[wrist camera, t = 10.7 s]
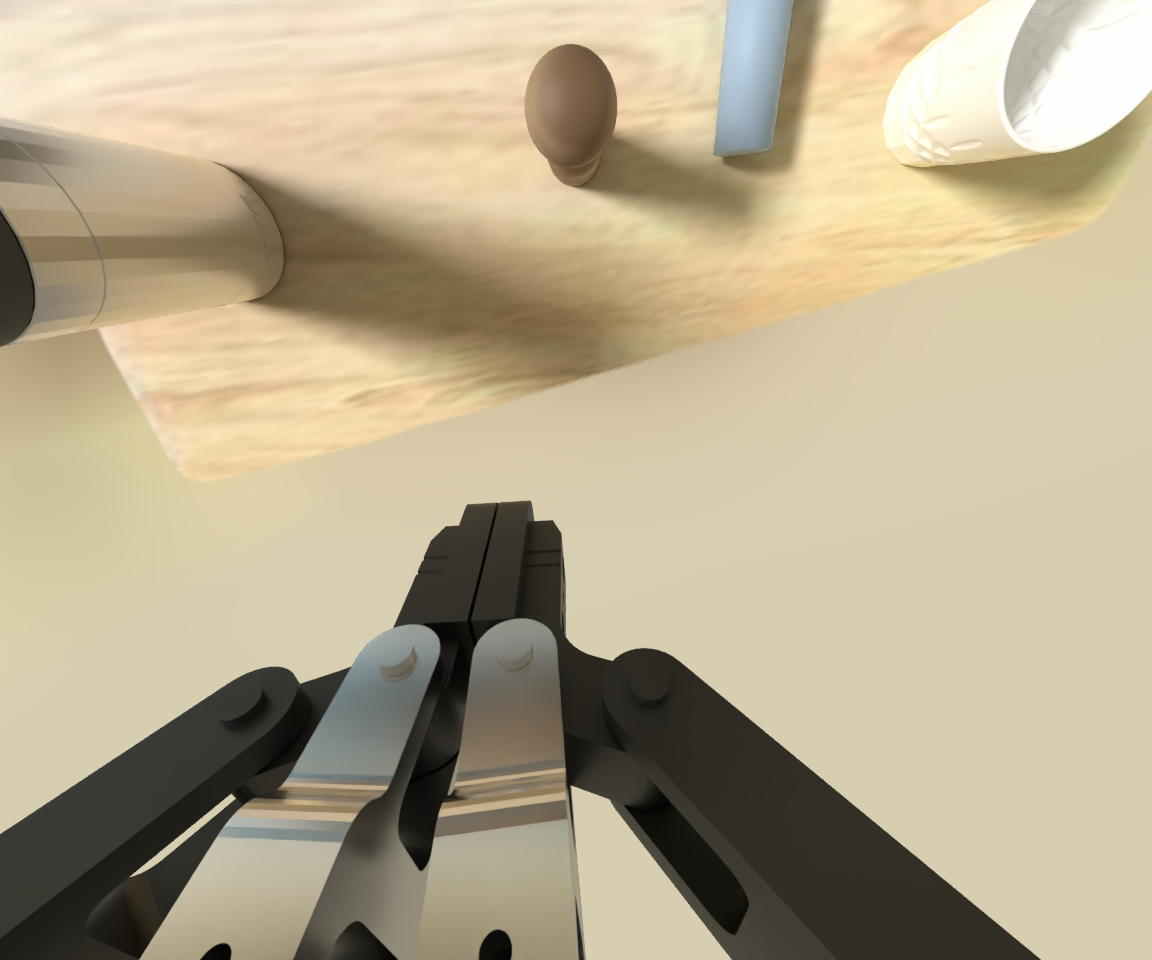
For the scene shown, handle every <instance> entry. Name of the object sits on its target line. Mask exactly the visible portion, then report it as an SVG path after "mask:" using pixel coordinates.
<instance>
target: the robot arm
mask: <svg viewBox="0 0 1152 960" xmlns="http://www.w3.org/2000/svg"><path fill="white" fill-rule="evenodd" d="M283 264H284V251H283V243H282V239H281V235H280V232H279V229H278V227H277V224H276V222H275V220H274V218H273V216H272V214H271V212H270V211H269V209H268V208H267V206H266V205H265V203H264V201H263V200H262V199H261V198H260V197H259V195H258V194H257V193H256V192H255V191H254V190H253V188H252V187H251V186H249V185H248V184H247V183H246V182H245V181H244V180H242V179H241V178H240V177H239V176H238V175H236V174H235V173H233V172H231V171H230V170H228V169H226V168H225V167H223V166H221V165H218V164H215V163H213V162H210V161H207V160H202V159H198V158H193V157H188V156H183V155H178V154H174V153H169V152H164V151H160V150H156V149H152V148H147V147H142V146H137V145H133V144H128V143H123V142H118V141H113V140H109V139H104V138H99V137H94V136H90V135H85V134H80V133H75V132H71V131H66V130H61V129H56V128H52V127H47V126H42V125H37V124H32V123H28V122H23V121H18V120H13V119H9V118H4V117H0V347H1V346H6V345H10V344H16V343H21V342H27V341H32V340H38V339H43V338H48V337H54V336H59V335H64V334H69V333H74V332H79V331H85V330H90V329H96V328H101V327H106V326H112V325H117V324H123V323H128V322H134V321H139V320H145V319H150V318H156V317H161V316H166V315H172V314H177V313H183V312H188V311H194V310H199V309H205V308H210V307H217V306H222V305H228V304H233V303H238V302H244V301H249V300H254V299H257V298H260V297H263V296H264V295H266V294H267V293H269V292H270V291H272V289H273V288H274V287H275V286H276V284H277V283H278V282H279V279H280V276H281V274H282V271H283ZM565 582H566V581H565V569H564V558H563V548H562V536H561V532H560V531H559V529H558V528H557V526H556V525H555V523H554V522H553V520H550V521H534V516H533V509H532V503H531V501H517V502H500V504H499V503H483V504H468V505H467V506H466V508H465V511H464V514H463V516H462V519H461V522H460V525H459V526H446V527H445V528H444V529H443V530H442V531H441V532H440V533H439V534H438V535H437V536H436V537H435V538H434V539H432V540H431V542H430V544H429V547H428V549H427V552H426V554H425V556H424V561H422V563H421V565H420V567H419V570H418V575H416V577H415V579H414V581H413V584H412V586H411V588H410V591H409V593H408V595H407V597H406V600H405V602H404V605H403V607H402V609H401V611H400V614H399V616H398V619H397V621H396V623H395V625H394V628H392V629H390V630H388V631H386V632H384V633H382V634H380V635H379V636H377V637H376V638H374V639H373V640H372V641H371V642H369V643H368V644H367V645H366V646H365V647H364V649H363V650H362V651H361V652H360V654H359V655H358V657H357V658H356V660H355V662H354V663H353V665H352V666H351V667H349V668H346V669H344V670H341V671H338V672H335V673H332V674H329V675H326V676H323V677H320V678H317V679H314V680H311V681H307V682H304V683H302V684H300V683H299V682H298V680H297V678H296V677H295V675H294V674H293V673H292V672H291V671H290V670H288V669H286V668H282V667H267V668H262V669H258V670H254V671H252V672H249V673H247V674H245V675H243V676H241V677H239V678H237V679H235V680H233V681H232V682H230V683H228V684H227V685H225V686H224V687H222V688H221V689H219V690H218V691H216V692H215V693H213V694H212V695H210V696H209V697H207V698H206V699H204V700H203V701H201V702H200V703H198V704H197V705H195V706H194V707H192V708H191V709H189V710H187V711H186V712H185V713H183V714H182V715H180V716H179V717H177V718H175V719H174V720H172V721H171V722H169V723H168V724H166V725H165V726H163V727H162V728H160V729H159V730H157V731H156V732H154V733H153V734H151V735H150V736H148V737H147V738H145V739H144V740H142V741H141V742H139V743H138V744H136V745H135V746H133V747H132V748H130V749H128V750H127V751H126V752H124V753H122V754H121V755H119V756H118V757H116V758H115V759H113V760H112V761H110V762H109V763H107V764H106V765H104V766H103V767H102V768H100V769H98V770H97V771H95V772H94V773H92V774H91V775H89V776H88V777H86V778H85V779H83V780H82V781H80V782H79V783H77V784H76V785H74V786H72V787H71V788H69V789H68V790H67V791H65V792H64V793H62V794H60V795H59V796H57V797H56V798H54V799H53V800H51V801H50V802H48V803H47V804H45V805H44V806H42V807H41V808H39V809H38V810H36V811H35V812H33V813H32V814H30V815H29V816H27V817H26V818H24V819H23V820H21V821H20V822H18V823H17V824H15V825H14V826H12V827H11V828H9V829H7V830H6V831H4V832H3V833H1V834H0V960H586V957H585V946H584V932H583V921H582V909H581V896H580V885H579V875H578V865H577V853H576V839H575V827H574V814H573V801H572V788H571V785H572V786H574V787H577V788H580V789H583V790H585V791H588V792H591V793H594V794H597V795H599V796H602V797H605V798H608V799H610V801H611V803H612V804H613V806H614V808H615V809H616V810H617V812H618V813H619V814H620V816H621V817H622V818H623V820H624V821H625V822H626V823H627V824H628V826H629V827H630V829H631V830H632V831H633V832H634V834H635V835H636V836H637V838H638V839H639V840H640V842H641V843H642V844H643V845H644V847H645V848H646V849H647V851H648V852H649V853H650V854H651V856H652V857H653V858H654V859H655V861H656V862H657V863H658V865H659V866H660V867H661V869H662V870H663V871H664V872H665V874H666V875H667V876H668V877H669V879H670V880H671V881H672V883H673V884H674V885H675V887H676V888H677V889H678V891H679V892H680V893H681V895H682V896H683V897H684V898H685V900H686V901H687V902H688V904H689V905H690V906H691V907H692V909H693V910H694V911H695V913H696V914H697V915H698V916H699V918H700V919H701V920H702V922H703V923H704V924H705V926H706V927H707V928H708V929H709V931H710V932H711V933H712V935H713V936H714V937H715V939H716V940H717V941H718V942H719V944H720V945H721V946H722V948H723V949H724V950H725V951H726V953H727V954H728V955H729V956H730V958H731V959H732V960H1040V959H1039V958H1038V957H1037V956H1036V955H1035V954H1033V953H1032V952H1031V951H1030V950H1029V949H1027V948H1026V947H1025V946H1024V945H1022V944H1021V943H1020V942H1019V941H1018V940H1016V939H1015V938H1014V937H1013V936H1011V935H1010V934H1009V933H1008V932H1007V931H1006V930H1004V929H1003V928H1002V927H1001V926H999V925H998V924H997V923H996V922H995V921H993V920H992V919H991V918H990V917H988V916H987V915H986V914H985V913H984V912H982V911H981V910H980V909H979V908H978V907H976V906H975V905H974V904H973V903H972V902H970V901H969V900H968V899H967V898H966V897H964V896H963V895H962V894H961V893H960V892H958V891H957V890H956V889H955V888H953V887H952V886H951V885H950V884H949V883H947V882H946V881H945V880H944V879H942V878H941V877H940V876H939V875H938V874H936V873H935V872H934V871H933V870H932V869H930V868H929V867H928V866H927V865H926V864H924V863H923V862H922V861H921V860H920V859H918V858H917V857H916V856H915V855H913V854H912V853H911V852H910V851H909V850H907V849H906V848H905V847H904V846H903V845H901V844H900V843H899V842H898V841H897V840H895V839H894V838H893V837H891V836H890V835H889V834H888V833H887V832H886V831H884V830H883V829H882V828H881V827H880V826H878V825H877V824H876V823H875V822H873V821H872V820H871V819H870V818H869V817H867V816H866V815H865V814H864V813H862V812H861V811H860V810H859V809H858V808H856V807H855V806H854V805H853V804H852V803H850V802H849V801H848V800H847V799H846V798H844V797H843V796H842V795H841V794H840V793H838V792H837V791H836V790H835V789H834V788H832V787H831V786H830V785H828V784H827V783H826V782H825V781H824V780H823V779H821V778H820V777H819V776H818V775H816V774H815V773H814V772H813V771H812V770H810V769H809V768H808V767H807V766H806V765H804V764H803V763H802V762H801V761H800V760H798V759H797V758H796V757H795V756H794V755H792V754H791V753H790V752H789V751H787V750H786V749H785V748H784V747H783V746H781V745H780V744H779V743H778V742H777V741H775V740H774V739H773V738H772V737H770V736H769V735H768V734H767V733H765V732H764V731H763V730H762V729H761V728H760V727H758V726H757V725H756V724H755V723H754V722H752V721H751V720H750V719H749V718H747V717H746V716H745V715H744V714H743V713H741V712H740V711H739V710H738V709H737V708H735V707H734V706H733V705H732V704H731V703H729V702H728V701H727V700H726V699H724V698H723V697H722V696H721V695H720V694H718V693H717V692H716V691H715V690H714V689H712V688H711V687H710V686H709V685H707V684H706V683H705V682H704V681H703V680H701V679H700V678H699V677H698V676H697V675H695V674H694V673H693V672H692V671H691V670H689V669H688V668H687V667H685V666H684V665H683V664H682V663H681V662H680V661H678V660H677V659H675V658H674V657H673V656H671V655H669V654H667V653H665V652H662V651H659V650H655V649H647V648H640V649H634V650H630V651H627V652H625V653H623V654H621V655H620V656H618V657H616V658H615V659H614V660H613V661H610V660H606V659H603V658H599V657H595V656H592V655H589V654H586V653H584V652H582V651H580V650H578V649H577V648H576V647H574V646H573V645H572V644H571V643H570V642H569V641H568V639H567V638H566V614H565V613H566V602H565V598H566V587H565V586H566V583H565ZM230 794H232V795H233V796H234V797H235V798H236V799H235V800H234V801H233V802H231V803H230V804H229V805H228V806H227V807H225V808H224V809H223V810H222V811H221V812H219V813H218V814H217V815H216V816H215V817H213V818H212V819H211V820H210V821H209V822H207V823H206V824H205V825H204V826H203V827H201V828H200V829H199V830H198V831H197V832H195V833H194V834H193V835H192V836H191V837H189V838H188V839H187V840H186V841H185V842H183V843H182V844H181V845H180V846H178V847H177V848H176V849H175V850H174V851H173V852H171V853H170V854H169V855H168V856H166V857H165V858H164V859H163V860H162V861H160V862H159V863H158V864H156V865H155V866H153V867H152V868H150V869H148V870H147V871H145V872H143V873H141V874H138V875H136V876H133V877H130V876H131V875H132V874H133V873H135V872H136V871H137V870H138V869H139V868H141V867H142V866H143V865H144V864H145V863H147V862H148V861H149V860H150V859H152V858H153V857H154V856H155V855H157V854H158V853H159V852H160V851H161V850H163V849H164V848H165V847H166V846H167V845H169V844H170V843H171V842H172V841H174V840H175V839H176V838H177V837H179V836H180V835H181V834H182V833H184V832H185V831H186V830H187V829H188V828H189V827H191V826H192V825H193V824H195V823H196V822H197V821H198V820H199V819H200V818H202V817H203V816H204V815H206V814H207V813H208V812H209V811H210V810H212V809H213V808H214V807H215V806H216V805H218V804H219V803H220V802H221V801H223V800H224V799H225V798H226V797H228V796H229V795H230Z"/></svg>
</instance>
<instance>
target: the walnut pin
mask: <svg viewBox="0 0 1152 960" xmlns="http://www.w3.org/2000/svg"><path fill="white" fill-rule="evenodd" d="M525 116H526V122H527V126H528V130H529V133H530V136H531V138H532V140H533V142H534V144H535V145H536V147H537V148H538V150H539V151H540V152H541V153H542V154H543V155H544V156H545V157H546V158H547V159H548V162H549V164H550V166H551V169H552V171H553V173H554V174H555V176H556V177H557V178H558V179H559V180H560V181H561V182H562V183H564V184H566V185H569V186H580V185H583V184H585V183H586V182H588V181H589V180H590V179H591V178H592V177H593V176H594V174H595V172H596V170H597V168H598V165H599V161H600V157H601V153H602V151H603V150H604V149H605V147H606V146H607V144H608V143H609V141H610V138H611V136H612V134H613V131H614V127H615V123H616V117H617V96H616V90H615V86H614V82H613V79H612V77H611V74H610V72H609V71H608V69H607V67H606V65H605V64H604V63H603V61H602V60H601V59H600V58H599V57H598V56H597V55H596V54H595V53H594V52H592V51H591V50H589V49H588V48H586V47H583V46H580V45H575V44H566V45H561V46H558V47H556V48H554V49H552V50H550V51H549V52H548V53H546V54H545V55H544V56H543V57H542V58H541V59H540V60H539V62H538V63H537V65H536V66H535V68H534V70H533V71H532V73H531V76H530V79H529V81H528V85H527V89H526V95H525Z"/></svg>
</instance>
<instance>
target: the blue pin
mask: <svg viewBox="0 0 1152 960" xmlns="http://www.w3.org/2000/svg"><path fill="white" fill-rule="evenodd" d="M793 3H794V0H728V4H727V15H726V26H725V37H724V47H723V58H722V69H721V80H720V90H719V101H718V112H717V123H716V134H715V144H714V156H741V155H750V154H756V153H761V152H766V151H769V150H771V149H772V145H773V138H774V131H775V124H776V118H777V111H778V104H779V97H780V91H781V84H782V77H783V71H784V64H785V57H786V50H787V44H788V37H789V30H790V23H791V17H792V10H793Z"/></svg>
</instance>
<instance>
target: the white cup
mask: <svg viewBox="0 0 1152 960" xmlns="http://www.w3.org/2000/svg"><path fill="white" fill-rule="evenodd" d="M1151 91H1152V0H991V1H990V2H989V3H987V4H986V5H984V6H983V7H981V8H980V9H978V10H976V11H975V12H973V13H972V14H970V15H969V16H968V17H966V18H965V19H963V20H962V21H961V22H959V23H958V24H957V25H956V26H954V27H953V28H952V29H950V30H949V31H947V32H946V33H944V34H942V35H941V36H939V37H938V38H936V39H934V40H933V41H931V42H930V43H929V44H928V45H927V46H926V47H925V48H924V49H923V50H921V51H920V52H919V53H918V54H917V55H916V56H915V57H914V58H913V59H912V60H911V61H910V62H909V63H908V64H907V65H906V66H905V67H904V69H903V71H902V73H901V74H900V76H899V78H898V80H897V81H896V83H895V85H894V87H893V89H892V90H891V92H890V94H889V96H888V101H887V106H886V110H885V115H884V120H883V130H884V136H885V141H886V147H887V149H888V151H889V152H890V153H891V154H892V155H893V156H894V157H895V158H896V159H897V160H898V161H899V163H900V164H904V165H910V166H916V167H929V166H936V165H958V164H964V163H978V162H986V161H994V160H1001V159H1009V158H1016V157H1024V156H1031V155H1039V154H1047V153H1056V152H1061V151H1066V150H1069V149H1073V148H1075V147H1078V146H1081V145H1083V144H1085V143H1087V142H1089V141H1091V140H1093V139H1095V138H1097V137H1099V136H1100V135H1102V134H1104V133H1105V132H1107V131H1108V130H1110V129H1111V128H1112V127H1114V126H1115V125H1116V124H1118V123H1119V122H1120V121H1121V120H1123V119H1124V118H1125V117H1126V116H1127V115H1129V114H1130V113H1131V112H1132V111H1133V110H1134V109H1135V108H1136V107H1137V106H1138V105H1139V104H1140V103H1141V102H1142V101H1143V100H1144V99H1145V98H1146V97H1147V96H1148V94H1149V93H1150V92H1151Z"/></svg>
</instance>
